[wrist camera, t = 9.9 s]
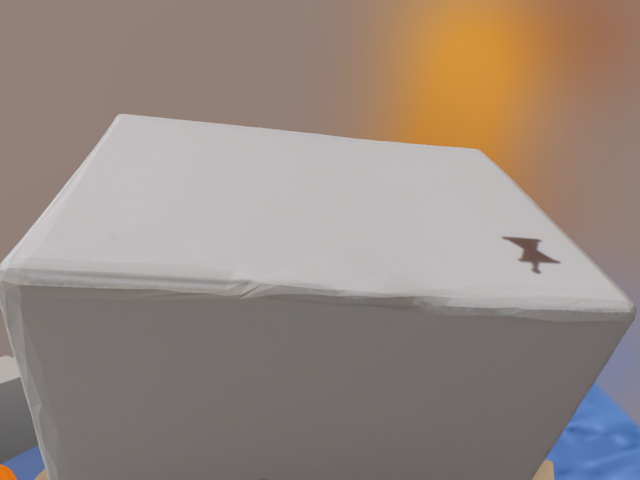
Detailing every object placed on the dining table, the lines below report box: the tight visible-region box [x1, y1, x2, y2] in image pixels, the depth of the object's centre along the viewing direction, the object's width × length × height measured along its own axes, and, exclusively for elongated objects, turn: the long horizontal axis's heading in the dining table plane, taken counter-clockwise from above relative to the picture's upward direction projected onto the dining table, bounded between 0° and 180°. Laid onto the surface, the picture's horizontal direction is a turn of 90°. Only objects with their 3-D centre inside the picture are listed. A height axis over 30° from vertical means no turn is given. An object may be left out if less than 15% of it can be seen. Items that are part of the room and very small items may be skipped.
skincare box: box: [0, 114, 636, 480], centre depth 9 cm, size 6×4×12 cm
